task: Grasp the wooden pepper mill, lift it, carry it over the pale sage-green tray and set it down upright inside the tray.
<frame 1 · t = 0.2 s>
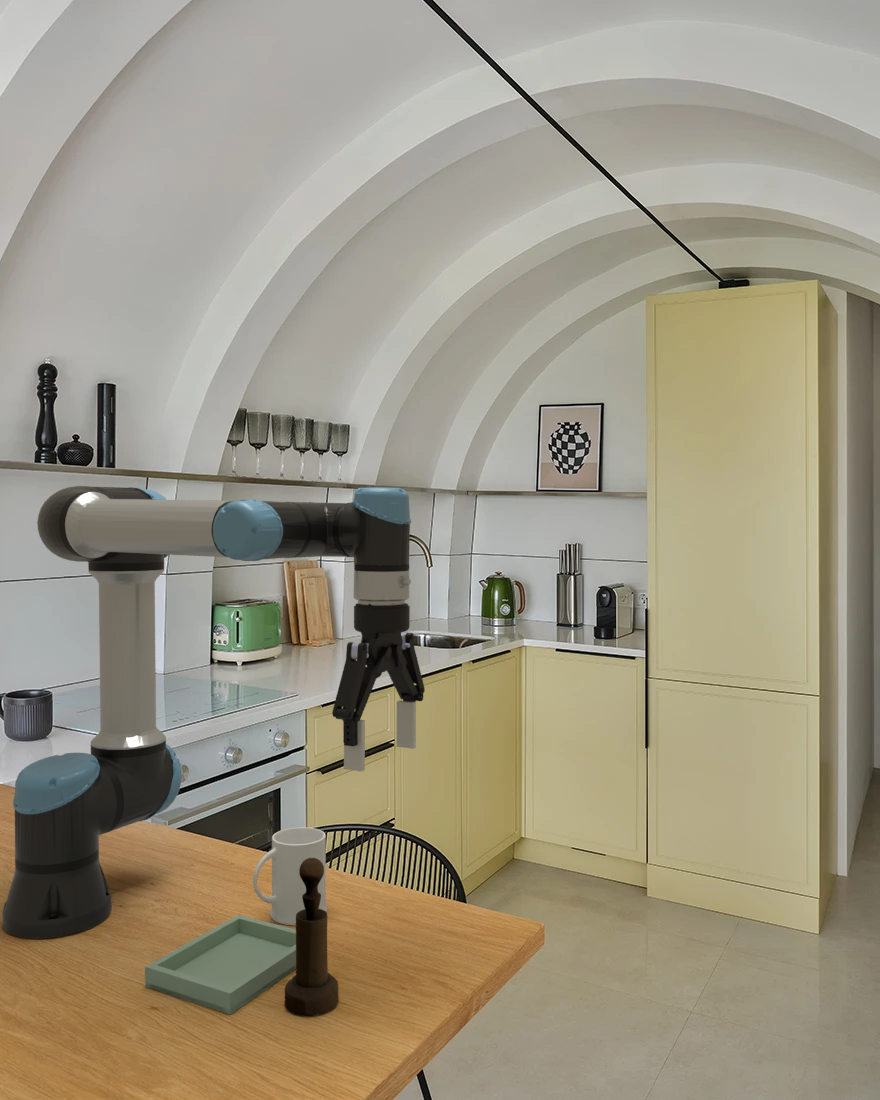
hand: (381, 758, 127), 27 cm above the table, fingers open, 13 cm apart
mug: (288, 917, 141), on the table
tray: (234, 969, 124), on the table
wooden pepper mill: (311, 1004, 116), on the table
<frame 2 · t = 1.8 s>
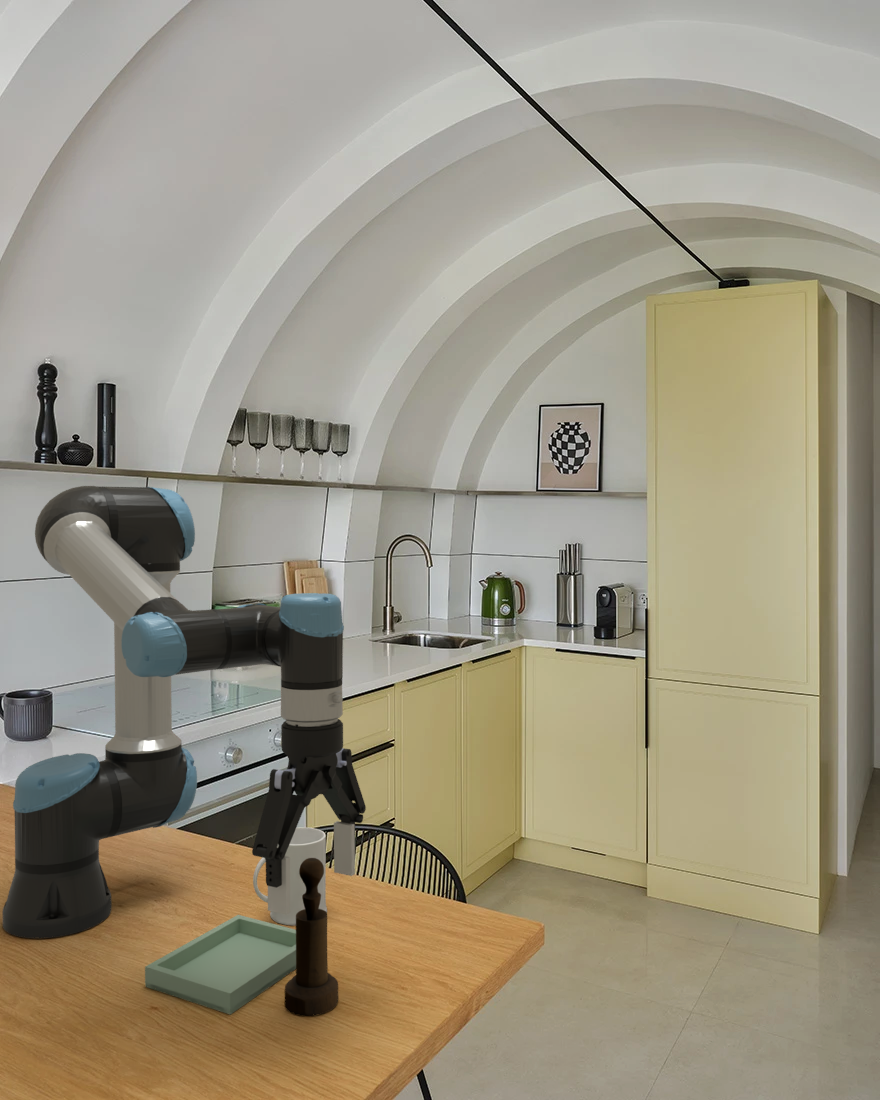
hand: (313, 891, 115), 14 cm above the table, fingers open, 13 cm apart
nothing on the table moved.
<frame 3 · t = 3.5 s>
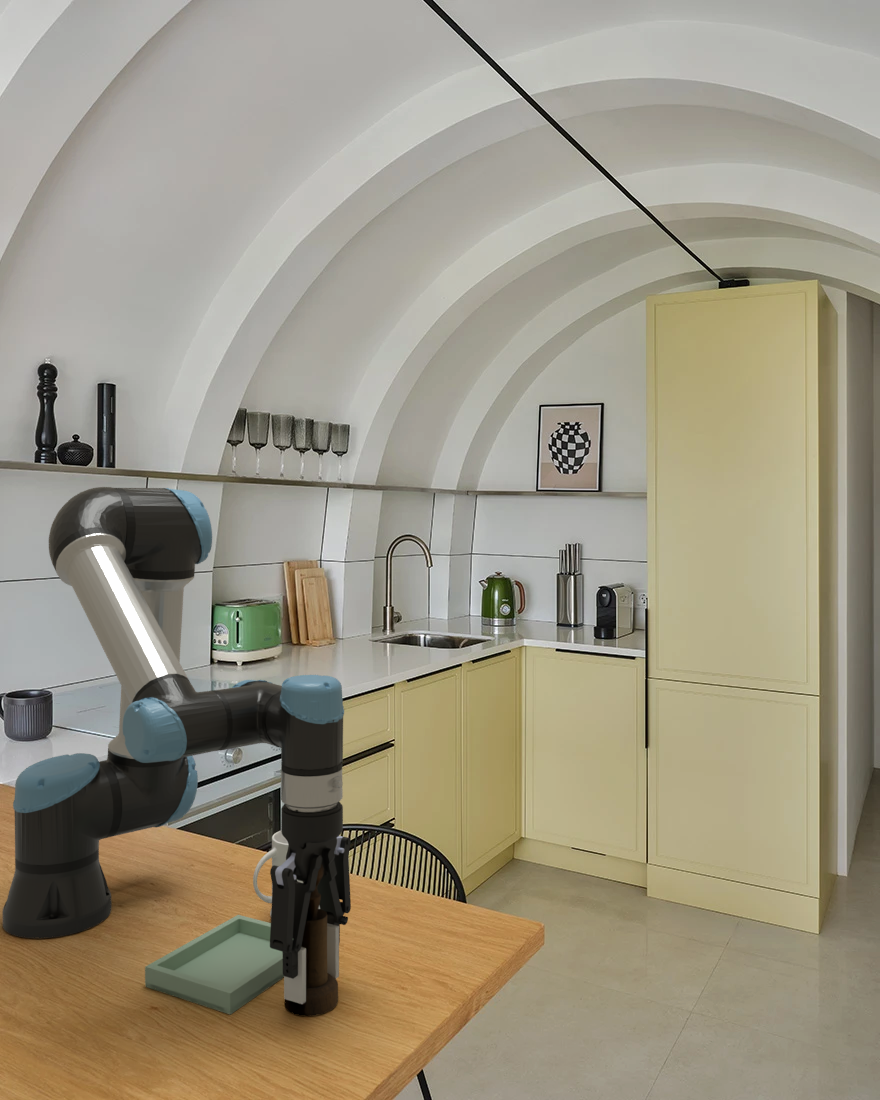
hand: (312, 987, 116), 2 cm above the table, fingers closed on wooden pepper mill, 6 cm apart
wooden pepper mill: (311, 1004, 116), on the table, touching gripper
everything else where it was.
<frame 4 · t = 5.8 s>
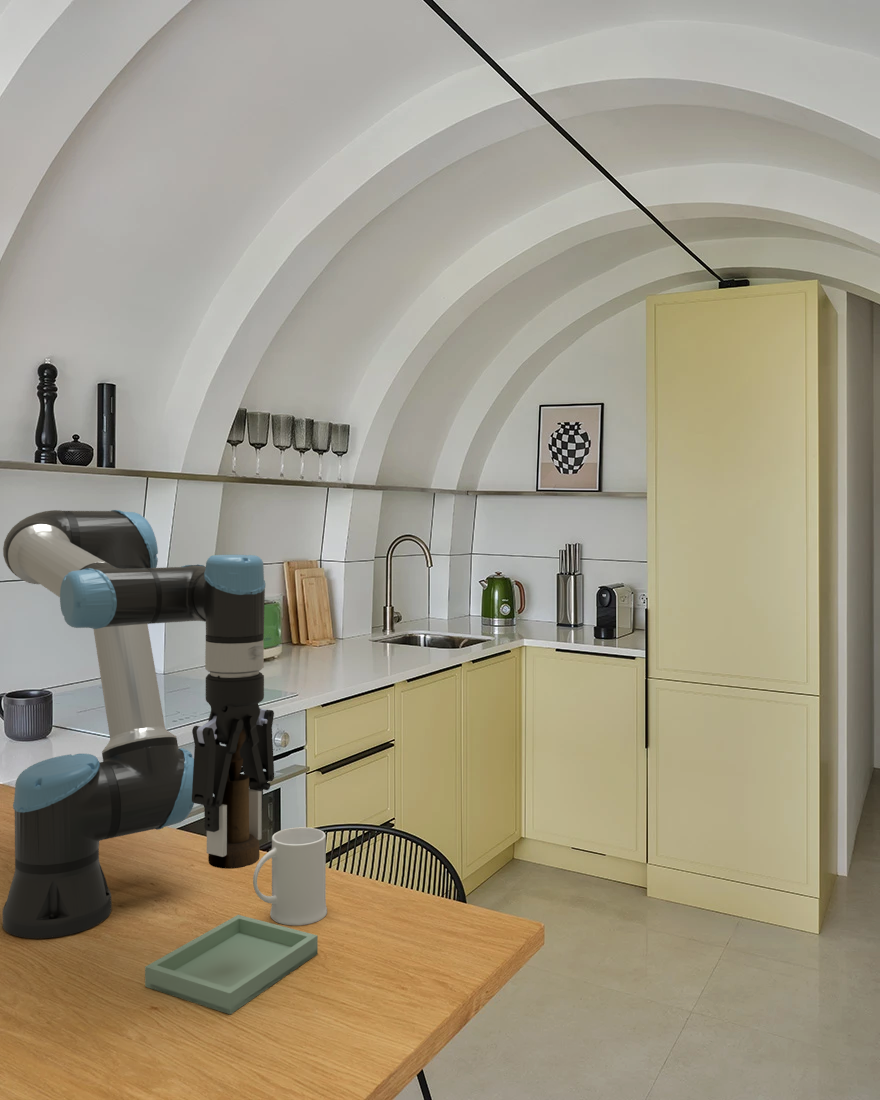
hand: (234, 845, 124), 17 cm above the table, fingers closed on wooden pepper mill, 6 cm apart
wooden pepper mill: (234, 861, 124), point 15 cm above the table, touching gripper
everything else where it was.
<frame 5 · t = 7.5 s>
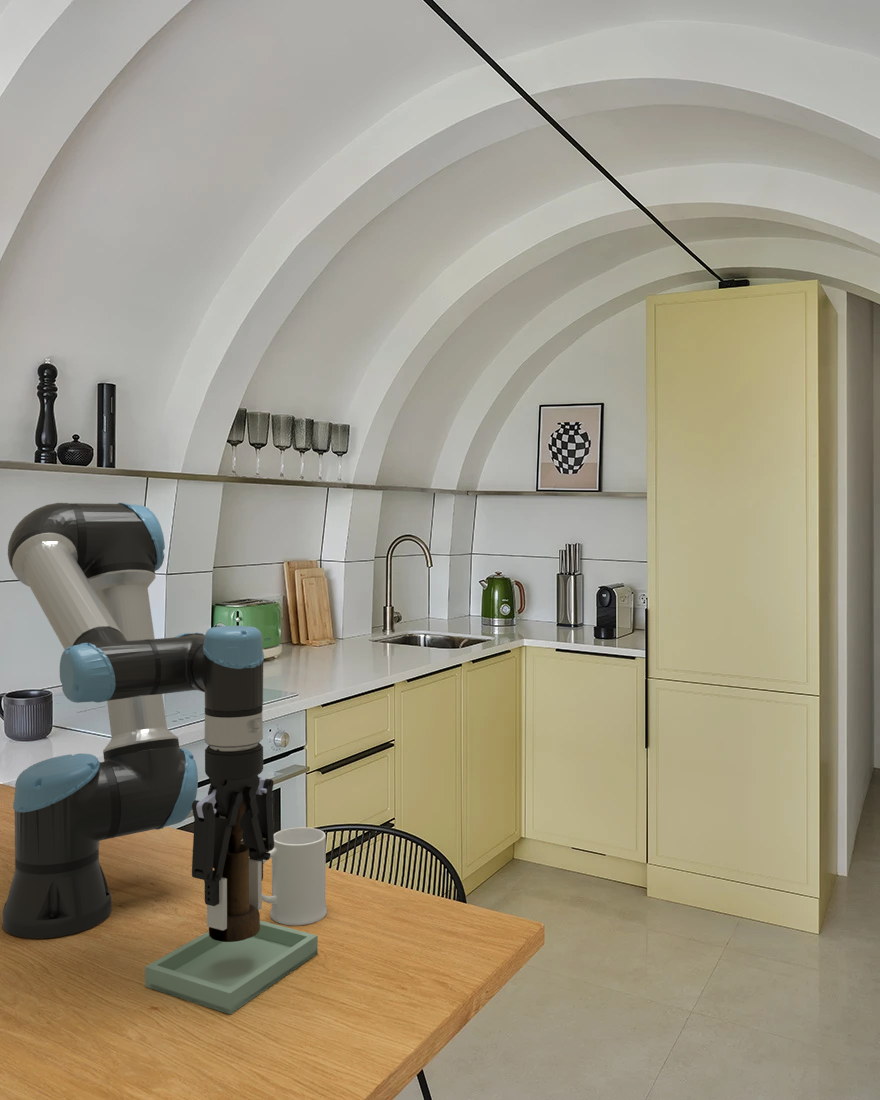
hand: (234, 917, 124), 7 cm above the table, fingers closed on wooden pepper mill, 6 cm apart
wooden pepper mill: (234, 933, 124), point 5 cm above the table, touching gripper
everything else where it was.
when the fingers open (4 cm above the table, at t = 8.5 s): wooden pepper mill drops 1 cm, resting on tray.
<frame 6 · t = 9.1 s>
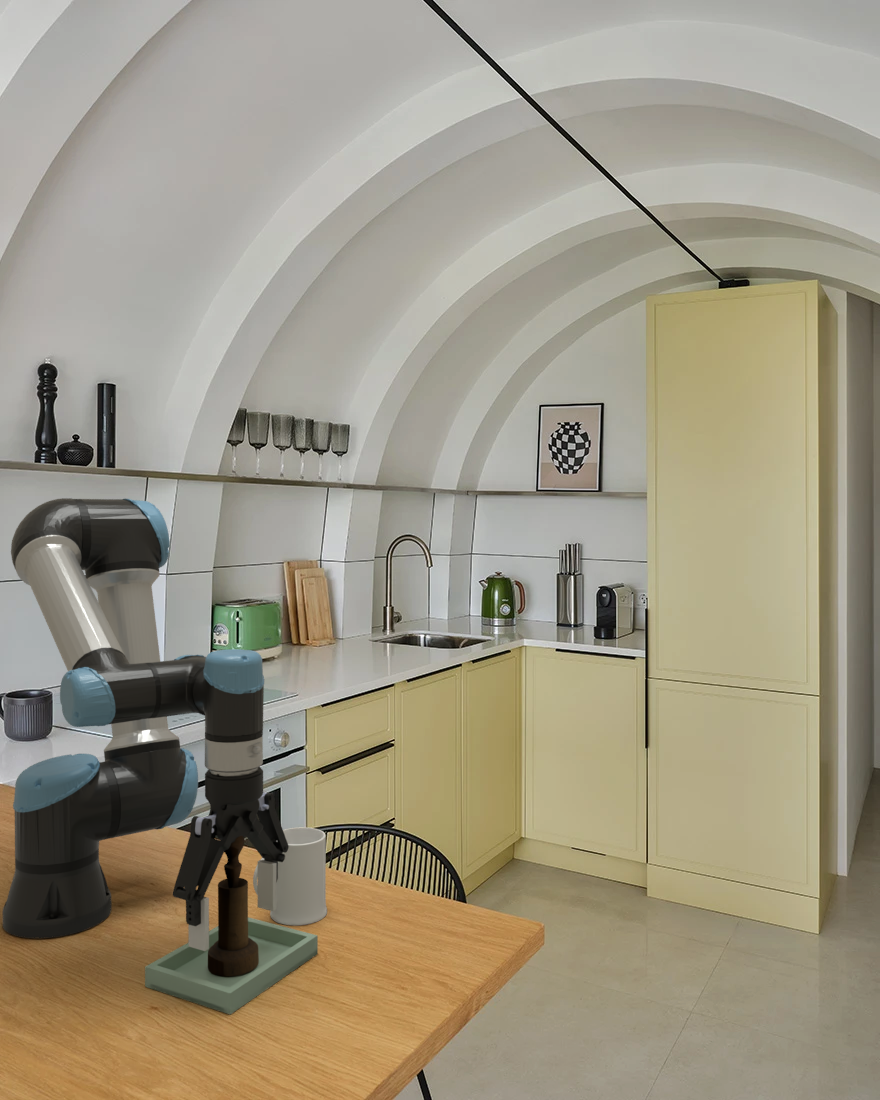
hand: (234, 927, 124), 6 cm above the table, fingers open, 13 cm apart
wooden pepper mill: (233, 967, 124), resting on tray
everything else where it was.
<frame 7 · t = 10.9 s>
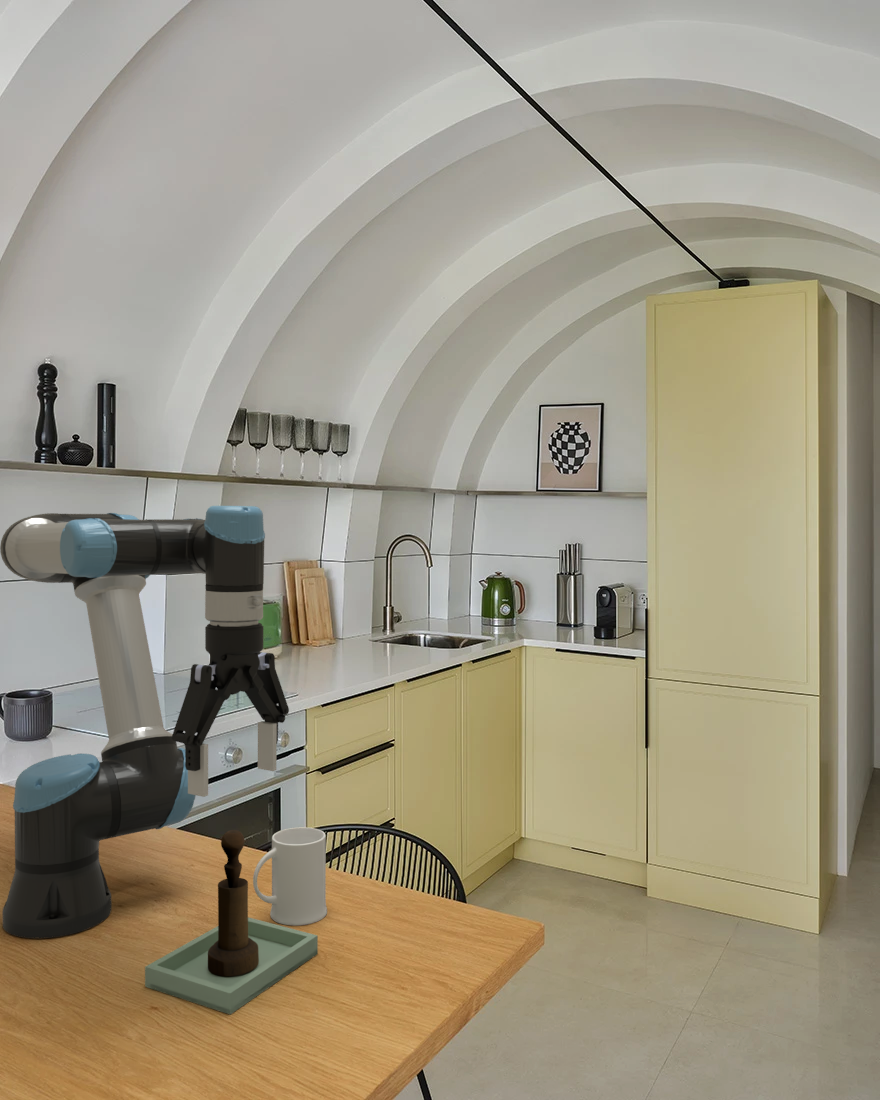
hand: (234, 781, 124), 25 cm above the table, fingers open, 13 cm apart
nothing on the table moved.
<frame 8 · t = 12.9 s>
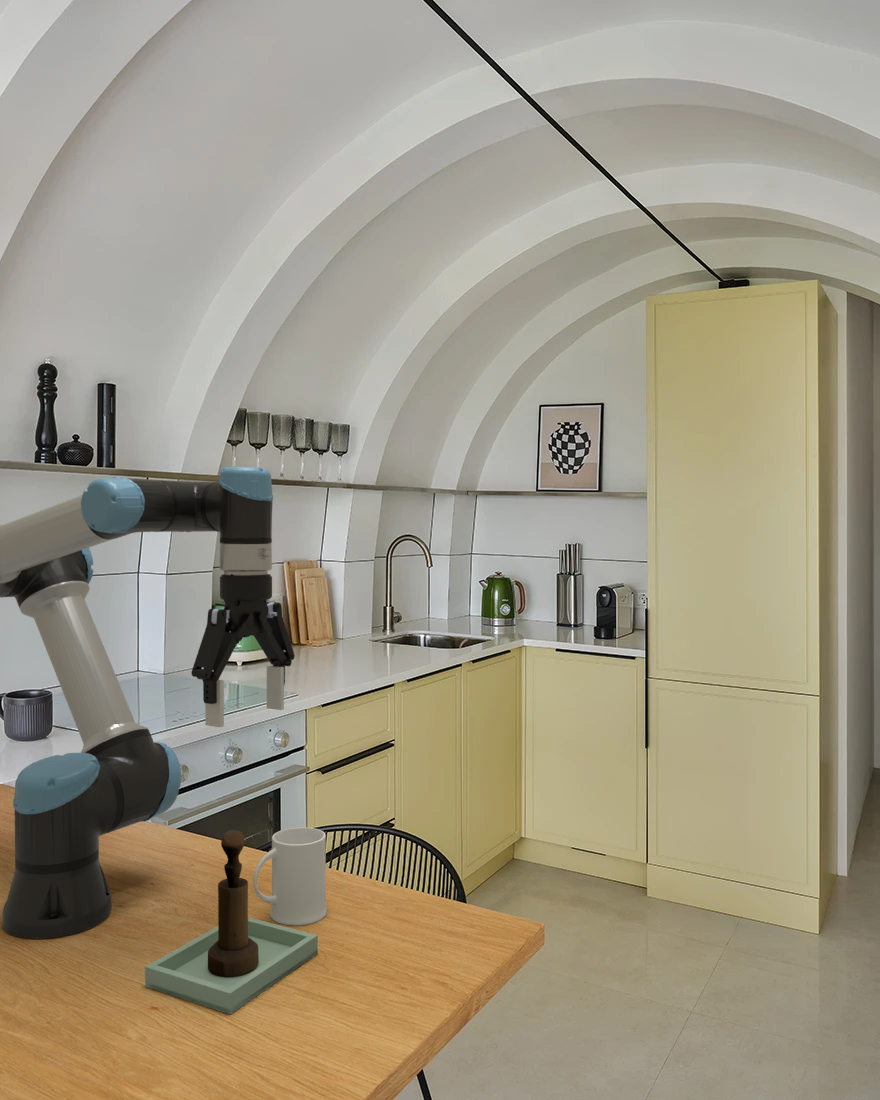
hand: (246, 717, 138), 31 cm above the table, fingers open, 13 cm apart
nothing on the table moved.
at the end: wooden pepper mill inside the target area on the tray (0.2 cm from its centre), point 0.4 cm above the tray's base; wooden pepper mill tilted 0°; the gripper is holding nothing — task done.
